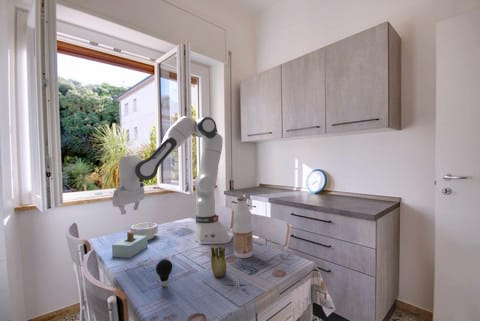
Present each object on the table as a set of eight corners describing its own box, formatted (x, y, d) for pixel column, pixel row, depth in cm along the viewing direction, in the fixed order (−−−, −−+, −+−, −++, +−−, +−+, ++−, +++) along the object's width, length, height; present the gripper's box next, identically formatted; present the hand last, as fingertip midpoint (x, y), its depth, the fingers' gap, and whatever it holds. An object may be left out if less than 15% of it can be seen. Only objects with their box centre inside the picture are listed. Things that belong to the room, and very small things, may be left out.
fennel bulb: (210, 275, 91) (209, 246, 91) (218, 271, 95) (218, 242, 95) (220, 280, 87) (219, 249, 87) (228, 275, 91) (228, 245, 91)
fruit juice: (233, 259, 106) (232, 199, 105) (233, 251, 115) (232, 196, 115) (253, 258, 106) (252, 199, 106) (251, 250, 115) (250, 196, 115)
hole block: (147, 246, 123) (147, 235, 123) (130, 257, 109) (129, 245, 109) (131, 245, 125) (131, 235, 125) (112, 256, 111) (112, 244, 111)
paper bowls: (162, 234, 143) (162, 222, 143) (148, 243, 128) (148, 229, 128) (140, 233, 146) (140, 221, 146) (124, 242, 131) (124, 228, 131)
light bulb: (158, 282, 86) (158, 257, 86) (174, 281, 87) (173, 256, 87) (154, 291, 81) (153, 264, 81) (170, 290, 81) (170, 263, 81)
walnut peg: (135, 250, 118) (134, 231, 118) (131, 252, 116) (130, 233, 115) (130, 250, 119) (129, 231, 119) (126, 252, 116) (125, 233, 116)
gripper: (120, 188, 106) (120, 217, 106) (146, 183, 126) (147, 207, 126) (108, 188, 107) (109, 217, 108) (136, 183, 127) (137, 207, 128)
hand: (129, 211), depth 117 cm, fingers open, 8 cm apart
